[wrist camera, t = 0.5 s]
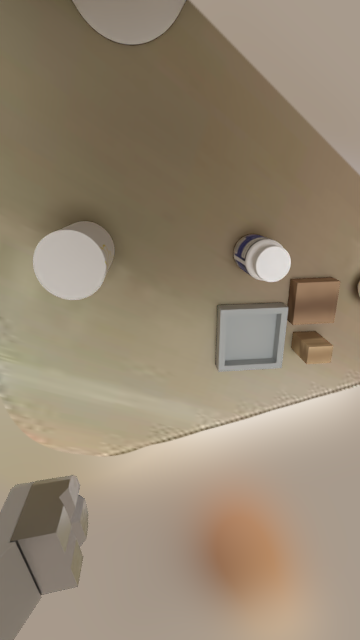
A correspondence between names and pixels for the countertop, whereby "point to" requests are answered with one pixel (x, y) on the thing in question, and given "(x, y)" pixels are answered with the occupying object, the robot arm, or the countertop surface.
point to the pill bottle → (262, 258)
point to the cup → (74, 260)
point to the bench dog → (312, 347)
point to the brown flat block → (312, 300)
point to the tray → (250, 336)
